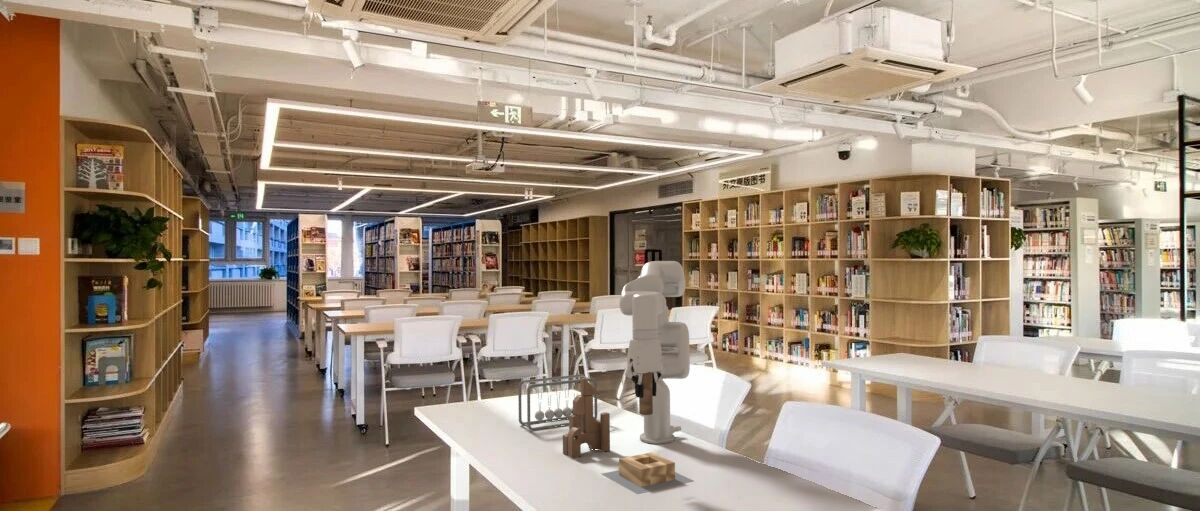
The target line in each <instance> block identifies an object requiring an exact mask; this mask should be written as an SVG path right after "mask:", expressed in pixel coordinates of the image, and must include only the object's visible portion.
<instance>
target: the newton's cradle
mask: <svg viewBox="0 0 1200 511" xmlns="http://www.w3.org/2000/svg"><path fill="white" fill-rule="evenodd" d="M577 378H579V379H577ZM581 378H584V379H586V380H587V381H588V382H593V385H594V386H593V387H594V388H595V389H596V390H597V391H598V381H597V380H596V379H595V377H588V376H586V375H585V374H582V373H581V374H580V373H579V374H570V375H563V376H562V375H561V376H552V377H543V378H534V379H533V378H532V379H523V380H521V381H520V382H519V383H518V387H517V389H518V422H519V424H520V425H521V426H526V427H527V429H528V430H529V431H531V430H534V431H540V430H539V429H541V430H545V428H548V429H551V428H550V427H555V426H561V425H569V422H565V423H557V424H549V425H543V426H535V427H532V426H531V425H534V424H533V423H537V424H540V423H539V422H544V423H547V422H546V421H551V422H553V421H552V420H558V419H566V420H568V419H567V418H569V415H572V414H573V406H572V407H569V403H568V401H565V404H566V407H564V408H563V409H561V408H560V407H557V408H555V409H554V410H552V409H551V408H548V409H547V410H546V411H545V412H544V411H542V410H541V408H542V405H541V404H542V403H539V408H538V411H536V412H535V414H534V418H535V419H536V420H532V421H531V389H532V388H539V387H541V389H543V387H546V389H547V393H549V392H548V391H549V390H548V389H549V388H548V386H551V387H550V389H552V388H553V386H557V385H559V387H561V385H566V384H572V387H573V389H575V385H574V384H575V383H576V384H577V386H576V387H577V388H576V390H578V387H579V383H581ZM542 382H543V383H542ZM531 383H532V384H531ZM523 384H526V385H529V386H528V387H527V390H526V400H527V401H526V405H527V408H526V410H527V411H526V412H527V415H526V416H527V418H526V420H527V421H523V420H522V416H523V415H522V412H523V411H522V385H523ZM557 390H558V389H557V388H555V391H556V394H558V392H557ZM569 391H570V389H568V392H567V394H566V390H564V392H565V397H567V396H570V395H569V394H570V392H569ZM537 392H538V393H537V394H538V397H537V398H539V397H540V399H542V397H543V393H541V395H539V394H540V393H539V392H540V391H539V389H537ZM575 395H576V394H573V400H574V399H575V397H576V396H575ZM558 396H559V397H558V399H556V402H557V404H556V405H557V406H559V401H560V397H561V393H559V395H558ZM551 397H552V396H550V398H547V403H548V404H547V405H550V404H551V400H552V398H551ZM549 399H550V401H549ZM593 406H594V416H593V417H594V418H595V420H596V421H597V419H598V395H593ZM544 418H545V419H544ZM558 421H559V420H558ZM555 428H556V427H555Z"/></svg>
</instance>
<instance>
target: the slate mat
mask: <svg viewBox="0 0 1200 511" xmlns="http://www.w3.org/2000/svg"><path fill="white" fill-rule="evenodd" d="M601 475H602V476H604V477H606V478H608V479H609V480H611V481H612V482H615V483H616V484H619V485H620V486H622V487H624V488H625V489H628V490H629V491H631V492H633V493H634V494H636V495H640V494H643V493H648V492H652V491H657V490H661V489H665V488H666V489H667V488H670V487H674V486H675V487H676V486H679V485H684V484H688V483H693V482H694V480H693V479H692V478H688V477H686V476H685V475H682V474H681V473H678V472H677V471H675V480H670V481H666V482H661V483H657V484H653V485H648V486H644V487H640V486H638V485H637V484H635V483H633V482H631V481H629V480H627V479H625V478H624V477H622V476H620V475H619V469H617V470H612V471H608V472H603V473H602V472H601Z"/></svg>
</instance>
